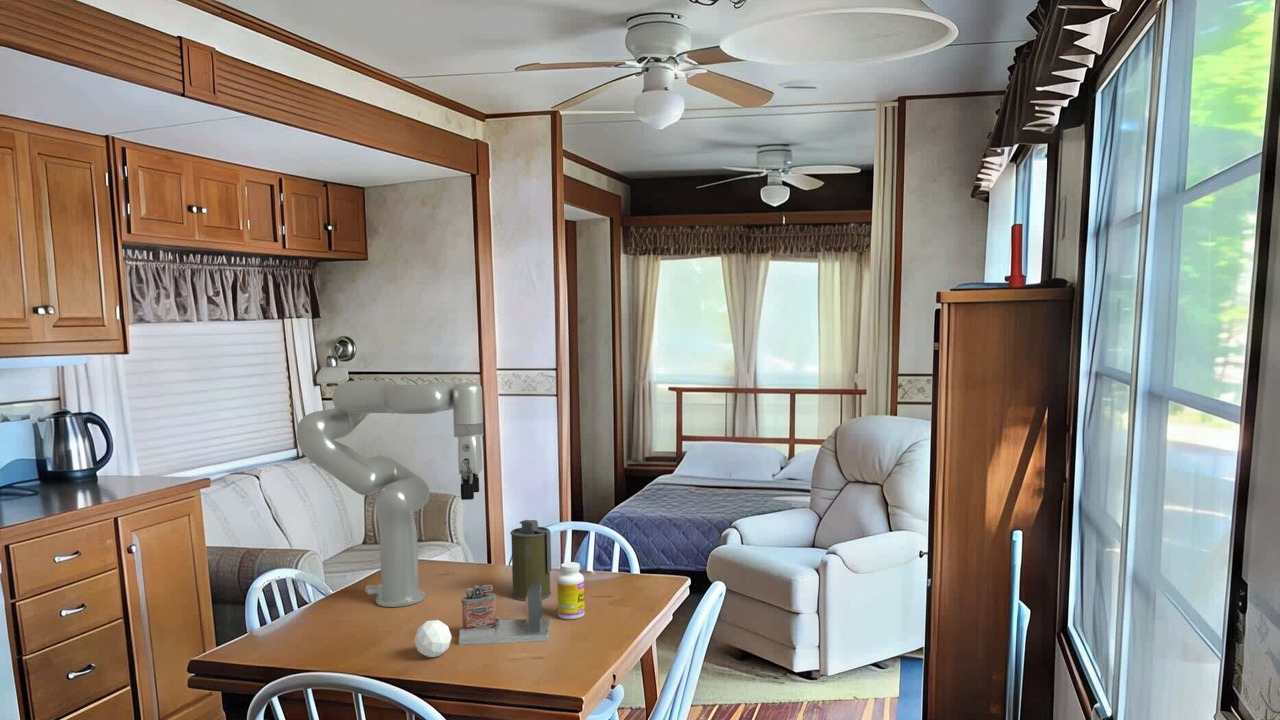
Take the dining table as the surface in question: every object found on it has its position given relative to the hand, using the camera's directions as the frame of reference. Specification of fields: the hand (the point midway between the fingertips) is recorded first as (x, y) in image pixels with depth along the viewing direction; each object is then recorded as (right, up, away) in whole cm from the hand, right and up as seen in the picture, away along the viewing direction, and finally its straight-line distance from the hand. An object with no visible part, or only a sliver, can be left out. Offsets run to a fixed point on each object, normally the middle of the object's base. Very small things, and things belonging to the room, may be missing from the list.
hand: (470, 495), depth 217 cm
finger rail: (+13, -29, -23) cm, 39 cm away
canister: (+15, -28, +7) cm, 33 cm away
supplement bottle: (+27, -28, -11) cm, 41 cm away
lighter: (+7, -28, -23) cm, 36 cm away
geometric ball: (-1, -30, -34) cm, 45 cm away
